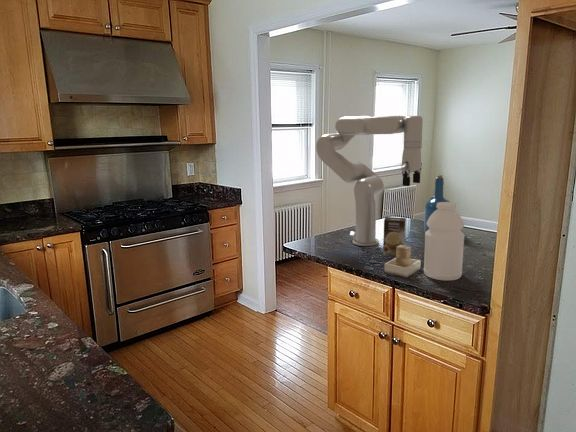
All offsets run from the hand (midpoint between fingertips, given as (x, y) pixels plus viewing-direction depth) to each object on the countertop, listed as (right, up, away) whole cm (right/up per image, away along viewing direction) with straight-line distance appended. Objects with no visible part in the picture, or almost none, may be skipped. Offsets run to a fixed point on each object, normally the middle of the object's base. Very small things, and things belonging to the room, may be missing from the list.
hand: (411, 184), depth 190 cm
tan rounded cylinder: (-9, -35, -19) cm, 40 cm away
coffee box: (-7, -31, +2) cm, 32 cm away
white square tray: (-9, -36, -18) cm, 41 cm away
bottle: (+5, -37, -24) cm, 44 cm away
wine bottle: (+23, -23, +33) cm, 46 cm away
